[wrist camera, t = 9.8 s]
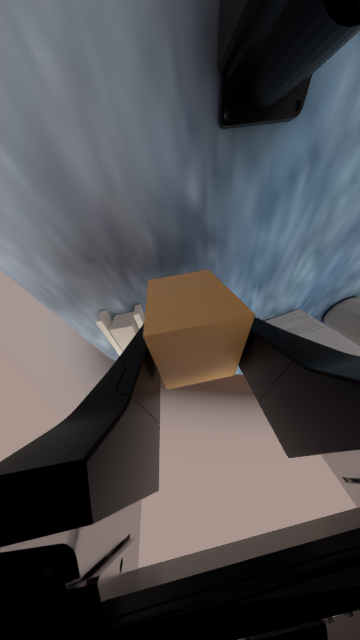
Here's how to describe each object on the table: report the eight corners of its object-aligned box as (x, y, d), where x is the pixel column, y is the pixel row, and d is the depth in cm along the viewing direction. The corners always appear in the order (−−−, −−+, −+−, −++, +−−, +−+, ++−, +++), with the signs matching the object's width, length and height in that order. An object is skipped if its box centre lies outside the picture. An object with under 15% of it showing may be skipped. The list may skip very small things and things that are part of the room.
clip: (140, 304, 19) (139, 314, 17) (153, 338, 24) (153, 349, 22) (101, 311, 19) (95, 322, 17) (122, 344, 24) (120, 355, 22)
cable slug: (134, 311, 20) (131, 326, 17) (144, 333, 23) (143, 348, 20) (115, 314, 19) (109, 330, 17) (127, 336, 23) (124, 352, 20)
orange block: (208, 269, 8) (255, 314, 4) (207, 320, 11) (234, 375, 7) (148, 279, 8) (142, 336, 4) (162, 329, 11) (166, 389, 7)
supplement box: (253, 347, 31) (309, 423, 20) (255, 323, 26) (336, 409, 14) (290, 335, 30) (371, 407, 19) (301, 307, 25) (426, 385, 13)
